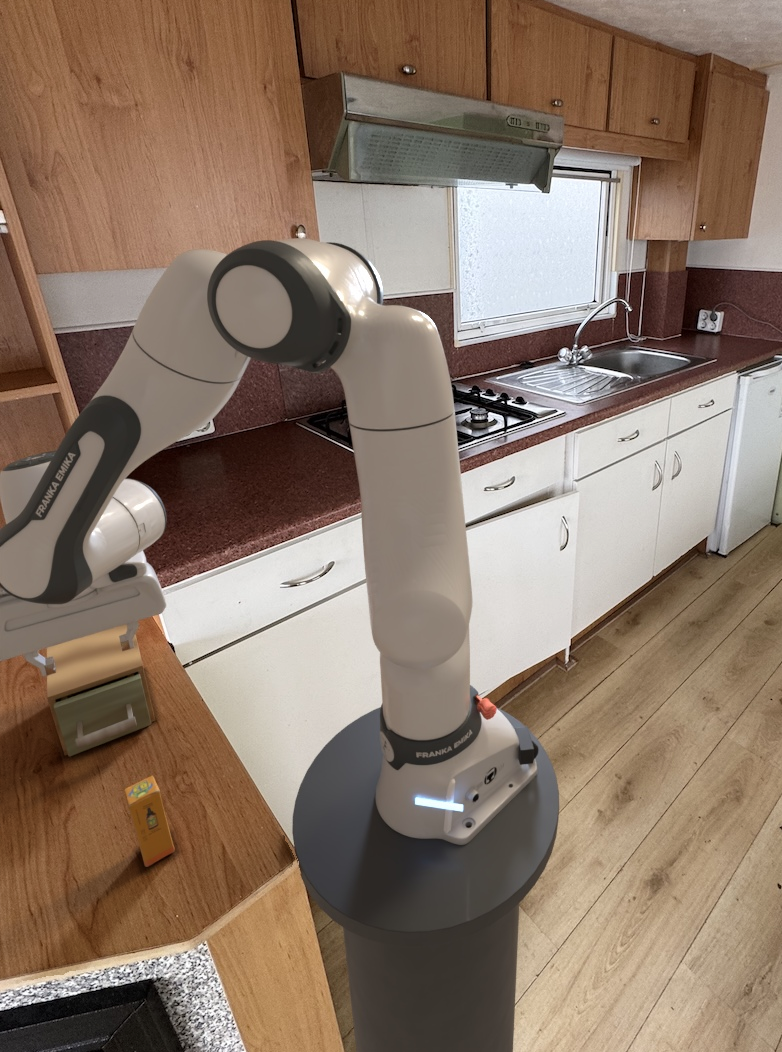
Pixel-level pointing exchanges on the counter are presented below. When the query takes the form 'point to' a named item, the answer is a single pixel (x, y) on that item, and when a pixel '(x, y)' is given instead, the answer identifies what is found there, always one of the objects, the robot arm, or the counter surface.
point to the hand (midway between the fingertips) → (90, 659)
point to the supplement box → (149, 820)
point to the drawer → (102, 713)
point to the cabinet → (92, 667)
